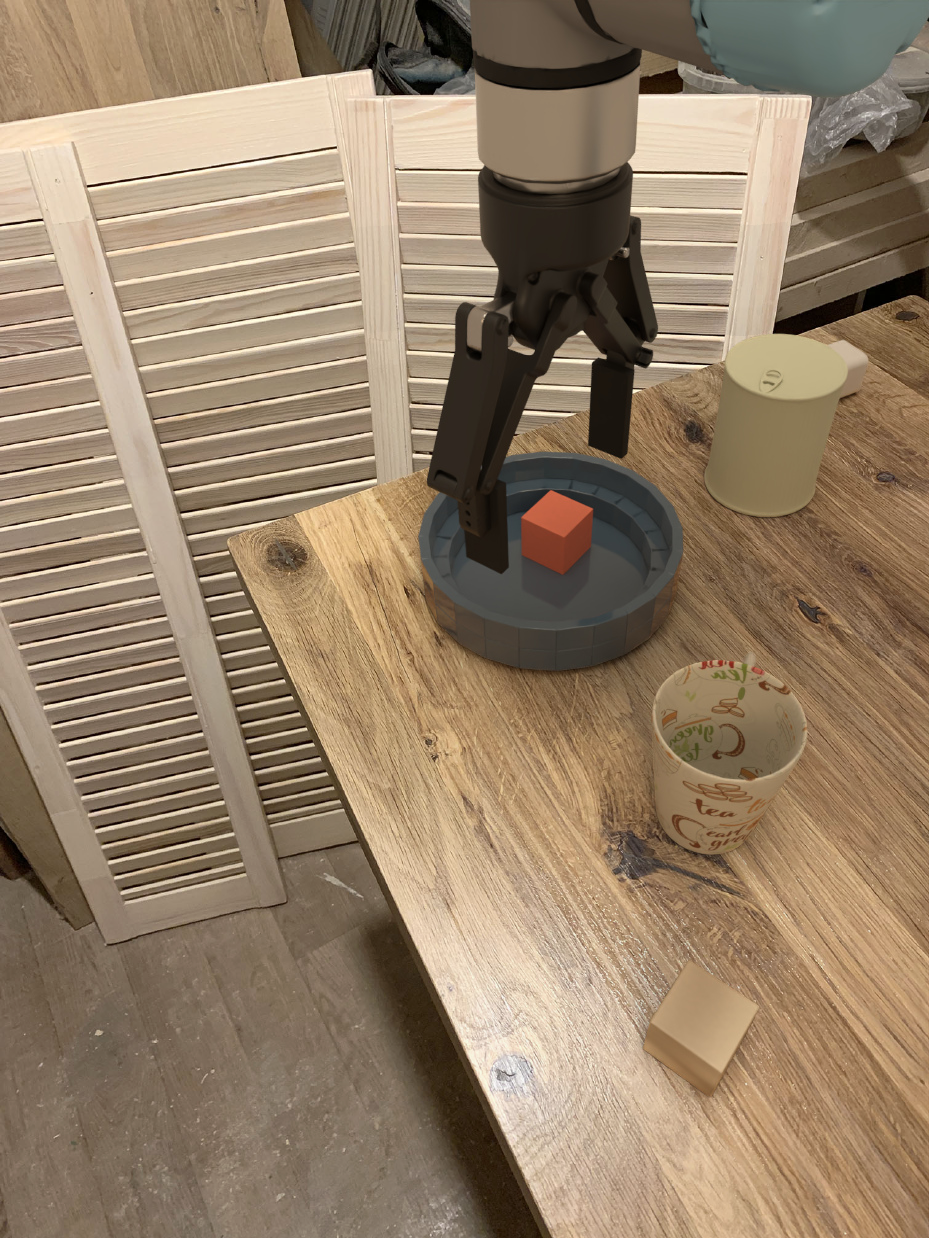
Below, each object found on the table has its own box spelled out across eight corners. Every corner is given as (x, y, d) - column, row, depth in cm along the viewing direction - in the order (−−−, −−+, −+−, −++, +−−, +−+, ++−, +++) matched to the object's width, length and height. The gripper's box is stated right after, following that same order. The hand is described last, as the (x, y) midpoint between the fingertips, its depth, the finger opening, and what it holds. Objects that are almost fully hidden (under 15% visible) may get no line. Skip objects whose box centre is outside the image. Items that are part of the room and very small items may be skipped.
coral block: (591, 546, 74) (593, 508, 71) (562, 575, 72) (564, 537, 69) (549, 527, 76) (550, 489, 73) (521, 555, 74) (520, 517, 71)
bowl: (721, 558, 73) (731, 510, 70) (584, 719, 64) (588, 673, 60) (520, 470, 82) (520, 424, 79) (373, 600, 72) (365, 554, 69)
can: (685, 494, 79) (705, 371, 70) (730, 438, 84) (753, 316, 75) (790, 532, 75) (824, 407, 66) (831, 470, 80) (868, 346, 71)
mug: (622, 848, 57) (635, 755, 49) (669, 695, 65) (687, 595, 57) (760, 891, 54) (796, 801, 47) (792, 727, 62) (827, 627, 55)
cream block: (746, 1033, 49) (760, 1005, 46) (710, 1098, 47) (722, 1073, 44) (679, 988, 51) (688, 958, 48) (642, 1048, 49) (648, 1021, 46)
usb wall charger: (858, 394, 87) (870, 357, 84) (800, 416, 85) (809, 379, 83) (829, 374, 90) (839, 337, 87) (772, 395, 88) (780, 358, 85)
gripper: (625, 72, 53) (605, 393, 68) (318, 245, 40) (380, 591, 55) (746, 94, 49) (697, 426, 65) (454, 290, 36) (479, 645, 52)
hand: (550, 503), depth 60 cm, fingers open, 13 cm apart
